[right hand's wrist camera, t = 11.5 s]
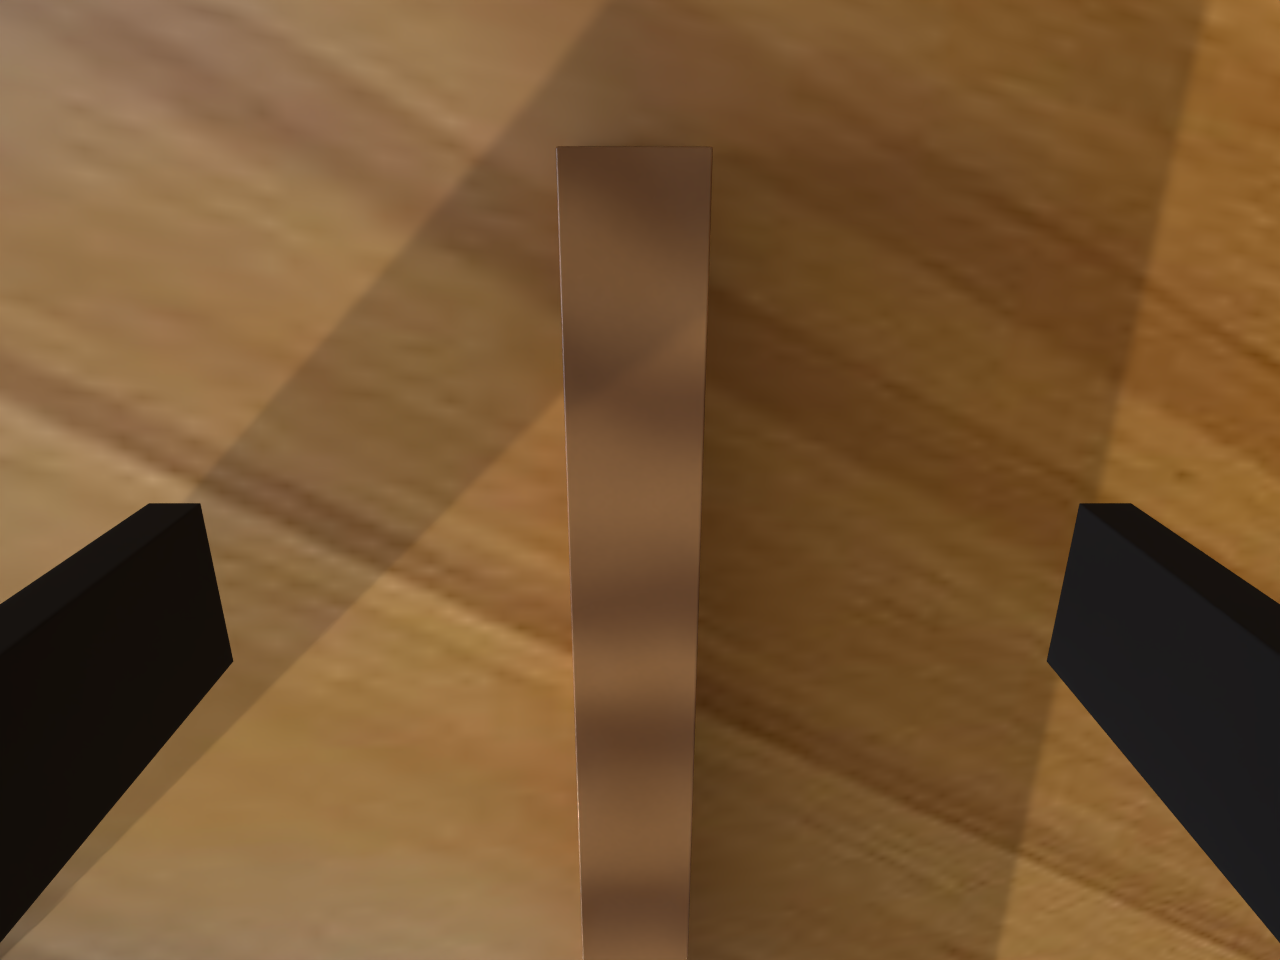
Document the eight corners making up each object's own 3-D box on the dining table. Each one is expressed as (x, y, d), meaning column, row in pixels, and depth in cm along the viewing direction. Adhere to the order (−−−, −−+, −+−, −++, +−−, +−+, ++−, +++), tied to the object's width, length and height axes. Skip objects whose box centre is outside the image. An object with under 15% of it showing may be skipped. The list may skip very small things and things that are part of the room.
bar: (574, 151, 33) (555, 146, 26) (696, 151, 33) (713, 146, 26) (600, 1164, 56) (594, 1312, 49) (672, 1164, 56) (676, 1312, 49)
